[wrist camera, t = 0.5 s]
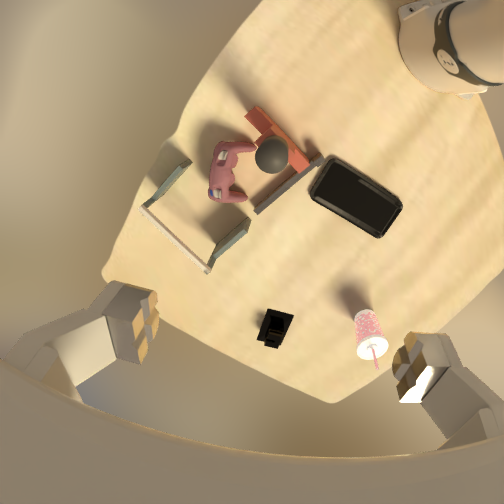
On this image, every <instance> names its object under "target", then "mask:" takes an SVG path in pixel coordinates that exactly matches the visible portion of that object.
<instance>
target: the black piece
mask: <svg viewBox="0 0 504 504" xmlns="http://www.w3.org/2000/svg"><path fill="white" fill-rule="evenodd" d="M293 317H294V315H292V314H288V313H284V312H280V311H276V310H272V309H267V312H266V315H265V318H264V321H263V323H262V326H261V329H260V332H259V334H258V337H257V340H259V341H263V342H264V346H268V347H272V348H276V349H278V347H279V345H281V343H282V341H283V339H284V337H285V335H286V333H287V330H288V328H289V326H290V324H291V321H292V319H293Z"/></svg>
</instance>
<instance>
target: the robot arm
mask: <svg viewBox="0 0 504 504" xmlns="http://www.w3.org/2000/svg"><path fill="white" fill-rule="evenodd" d="M409 9H411V10H412V12H411V11H410V10H409ZM398 15H399V19H400V23H401V27H400V32H399V47H400V52H401V55H402V58H403V60H404V62H405V64H406V66H407V67H408V69H409V70H410V72H411V73H412V74H413V75H414V76H415V78H416V79H417V80H419V81H420V82H421V83H422V84H423V85H425V86H426V87H428V88H430V89H432V90H434V91H437V92H441V93H451V94H454V95H456V96H458V97H459V98H461V99H463V100H469V99H471V98H472V96H473V95H474V94H475V93H483V92H486V91H487V88H488V87H494V86H498V85H502V84H504V0H420V1H416V2H413V3H409V4H406V5H403V6H401V7H399V8H398ZM157 302H158V299H157V293H156V292H155V291H154V290H150V289H146V288H142V287H138V286H134V285H131V284H126V283H122V282H118V281H115V280H114V281H111V282H110V283H109V284H108V285H107V286H106V287H105V289H104V290H103V291H102V292H101V293H100V294H99V296H98V297H97V298H96V299H95V300H94V302H93V303H92V304H91V305H90V307H89V308H88V309H87V310H85V309H81V310H79V311H77V312H75V313H72V314H69V315H67V316H65V317H62V318H60V319H57V320H55V321H53V322H50V323H48V324H46V325H43V326H41V327H38V328H36V329H34V330H31V331H29V332H26V333H24V334H23V336H22V337H21V338H20V339H19V340H18V341H17V343H16V344H15V345H14V346H13V348H12V349H11V350H10V351H9V353H8V354H7V355H6V356H5V358H4V359H3V360H2V359H1V358H0V504H504V401H503V400H502V399H501V398H500V397H499V396H498V395H496V394H495V393H494V392H493V391H492V390H491V389H490V388H489V387H488V386H487V385H486V384H485V383H483V382H482V381H481V380H480V379H479V378H478V377H477V376H476V375H475V374H473V373H472V372H471V371H470V370H469V369H468V368H467V367H463V365H462V363H461V361H460V359H459V357H458V355H457V352H456V350H455V348H454V346H453V344H452V342H451V340H450V338H449V336H448V335H447V334H444V333H423V332H411V331H410V332H409V333H408V334H407V335H406V337H405V338H404V346H402V347H401V348H399V349H398V350H397V352H396V354H395V356H394V359H393V363H392V370H393V374H394V377H395V378H396V379H397V380H398V381H399V382H398V384H397V386H396V387H397V391H398V395H399V399H400V401H401V402H420V404H421V405H422V406H423V408H424V409H425V410H426V411H427V413H428V414H429V416H430V417H431V418H432V420H433V421H434V422H435V424H436V425H437V426H438V428H439V429H440V430H441V432H442V433H443V434H444V436H445V437H446V438H447V440H446V441H445V442H444V443H443V444H441V445H440V446H439V447H438V449H437V450H434V451H428V452H422V453H413V454H404V455H393V456H380V457H356V458H330V457H304V456H290V455H279V454H270V453H262V452H255V451H248V450H241V449H235V448H229V447H223V446H218V445H214V444H209V443H204V442H200V441H195V440H191V439H187V438H183V437H179V436H175V435H171V434H168V433H165V432H161V431H158V430H154V429H151V428H148V427H145V426H142V425H138V424H136V423H133V422H130V421H127V420H124V419H121V418H119V417H116V416H113V415H111V414H108V413H106V412H103V411H101V410H98V409H96V408H93V407H91V406H89V405H86V404H84V403H83V402H82V399H81V397H80V395H79V393H78V391H77V390H76V388H75V386H77V385H79V384H80V383H82V382H83V381H85V380H86V379H88V378H89V377H91V376H92V375H94V374H95V373H97V372H98V371H100V370H101V369H103V368H104V367H106V366H107V365H109V364H110V363H112V362H113V361H115V360H116V358H119V359H122V360H126V361H129V362H133V363H136V364H140V365H141V363H142V361H143V359H144V357H145V355H146V353H147V351H148V345H147V343H148V342H150V341H152V340H153V339H154V337H155V335H156V333H157V329H158V325H159V312H158V311H157V309H156V308H155V305H156V304H157Z"/></svg>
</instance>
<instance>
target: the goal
mask: <svg viewBox="0 0 504 504" xmlns="http://www.w3.org/2000/svg"><path fill="white" fill-rule="evenodd" d="M192 163H193V162H192V161H191V160H190V159H189V160H187V161H186V162H184V163H182V164H181V165H179V166H178V167H177V168H176V169H175V171H174V172H173V173H172V174H171V175H170V176H169V177H168V179H167V180H166V181H165V182H164V183H163V184H162V185H161V187H160V188H159V189H158V190H157V191H156V192H155V194H154V195H153V196H152V197H151V198H150V199H149V200H147V201H146V202H145V203H143V204H142V205H141V206H140V207H139V208H138V210H139V211H140V212H141V213H142V214H143V215H144V216H145V217H146V218H147V219H148V220H149V221H150V222H151V223H152V224H153V225H154V226H155V227H156V228H157V229H158V230H159V231H161V232H162V233H163V234H164V235H165V236H166V237H167V238H168V239H169V240H170V241H171V242H172V243H173V244H174V245H175V246H176V247H178V248H179V249H180V250H181V251H182V252H183V253H184V254H185V255H186V256H187V257H188V258H189V259H190V260H192V261H193V262H194V263H195V264H196V265H197V266H198V267H199V268H200V269H201V270H203V271H204V272H205V273H206V274H209V273H210V272H211V270H212V267H213V265H214V263H215V261H216V259H217V258H218V257H219V256H220V255H222V254H223V253H224V252H225V251H226V250H227V249H229V248H230V247H231V246H232V245H233V244H235V243H236V242H237V241H238V240H239V239H240V238H242V237H243V236H244V235H245V234H246V233H247V232H248V229H249V226H250V223H251V219H250V218H249V217H248V218H246V219H245V220H244V221H243V222H242V223H241V224H239V225H238V226H237V227H236V228H235V229H234V230H233V231H231V232H230V233H229V234H228V235H227V236H226V237H225V238H223V239H222V240H221V241H220V242H219V243H218V244H217V245H216V247H215V249H214V251H213V253H212V255H211V257H210V259H209V261H208V263H207V264H206V263H204V262H203V261H202V260H201V259H200V258H199V257H198V256H197V255H196V254H195V253H194V252H193V251H191V250H190V249H189V248H188V247H187V246H186V245H185V244H184V243H183V242H182V241H181V240H180V239H179V238H178V237H177V236H175V235H174V234H173V233H172V232H171V231H170V230H169V229H168V228H167V227H166V226H165V225H164V224H163V223H162V222H161V221H160V220H159V219H158V218H157V217H156V216H154V215H153V214H152V213H151V212H150V211H149V210H148V209H147V208H148V207H149V206H150V205H152V204H153V203H154V202H155V201H156V200H158V199H159V198H160V197H161V196H163V195H164V194H165V193H166V191H167V190H168V189H169V188H170V187H171V186H172V185H173V184H174V182H175V181H176V180H177V179H178V178H179V177H180V176H181V175H182V174H183V173H184V171H185V170H186V169H187V168H188V167H189V166H190V165H191V164H192Z"/></svg>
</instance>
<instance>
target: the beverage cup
mask: <svg viewBox="0 0 504 504" xmlns="http://www.w3.org/2000/svg"><path fill="white" fill-rule="evenodd" d="M354 321H355V329H356V337H357V354H358V356H359V357H360V358H362V359H366V360H371V359H374V362H375V366H376V370H378V369H379V368H378V363H377V359H376V358H378V357H380V356H381V355H383V354H384V353H385V352H386V351H387V348H388V341H387V339H386V338H385V337H384V335H383V332H382V330H381V327H380V325H379V322H378V320H377V317H376V315H375V313H374V312H373V311H372V310H368V309H365V310H362V311H360V312H358V313H357V314H356V316H355V319H354Z"/></svg>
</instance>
